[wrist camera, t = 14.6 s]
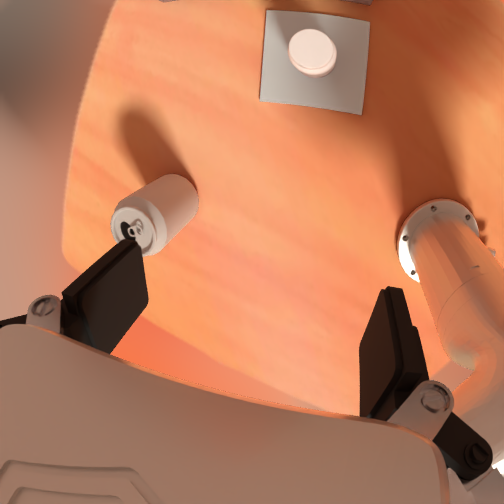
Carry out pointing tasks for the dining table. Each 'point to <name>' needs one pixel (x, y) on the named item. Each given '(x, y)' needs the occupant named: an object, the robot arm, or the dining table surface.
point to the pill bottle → (312, 53)
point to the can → (155, 213)
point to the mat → (306, 88)
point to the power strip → (362, 0)
